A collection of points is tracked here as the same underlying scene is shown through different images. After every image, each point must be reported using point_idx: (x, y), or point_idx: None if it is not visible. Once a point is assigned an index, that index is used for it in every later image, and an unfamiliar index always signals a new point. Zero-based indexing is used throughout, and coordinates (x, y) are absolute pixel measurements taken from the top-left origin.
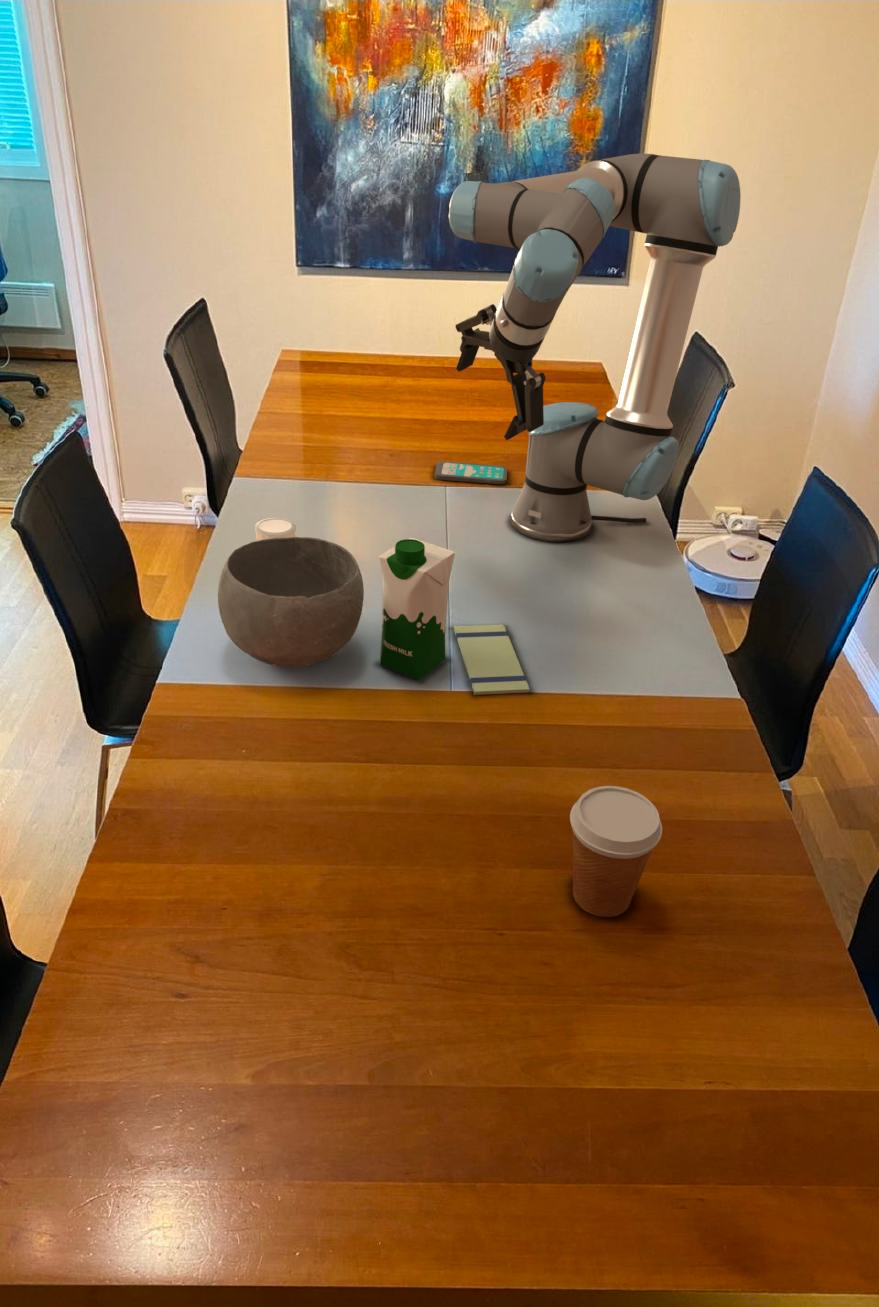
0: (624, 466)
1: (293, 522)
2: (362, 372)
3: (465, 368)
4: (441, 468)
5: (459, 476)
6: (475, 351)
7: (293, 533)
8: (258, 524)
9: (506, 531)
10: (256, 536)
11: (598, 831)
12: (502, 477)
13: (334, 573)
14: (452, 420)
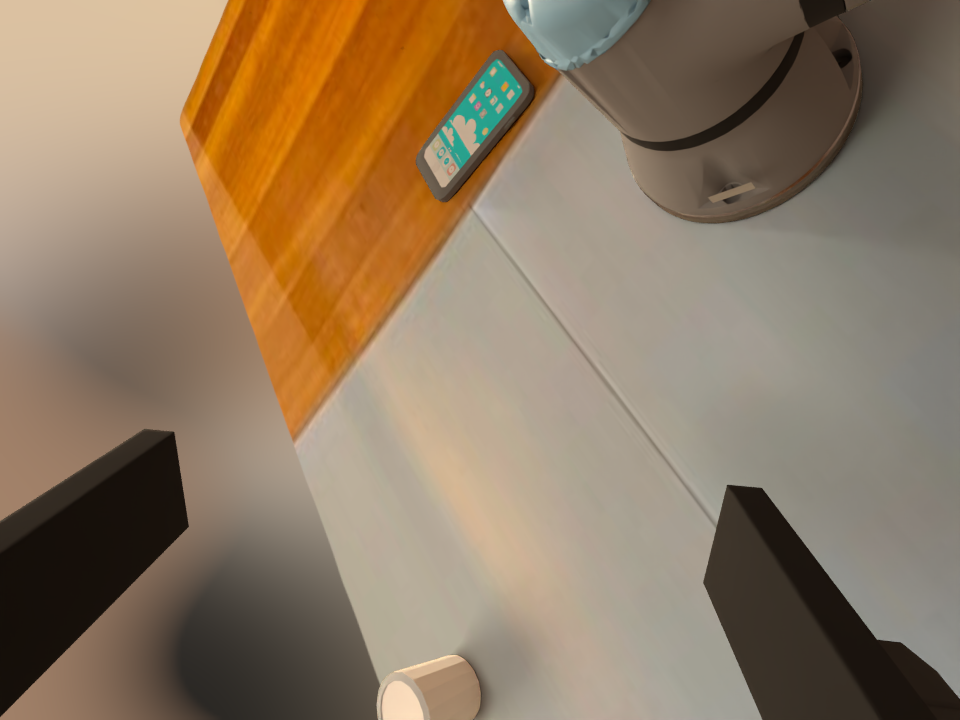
0: None
1: (413, 681)
2: (231, 70)
3: (180, 483)
4: (431, 173)
5: (467, 164)
6: (7, 576)
7: (435, 711)
8: None
9: (676, 243)
10: None
11: None
12: (519, 85)
13: None
14: (352, 30)
